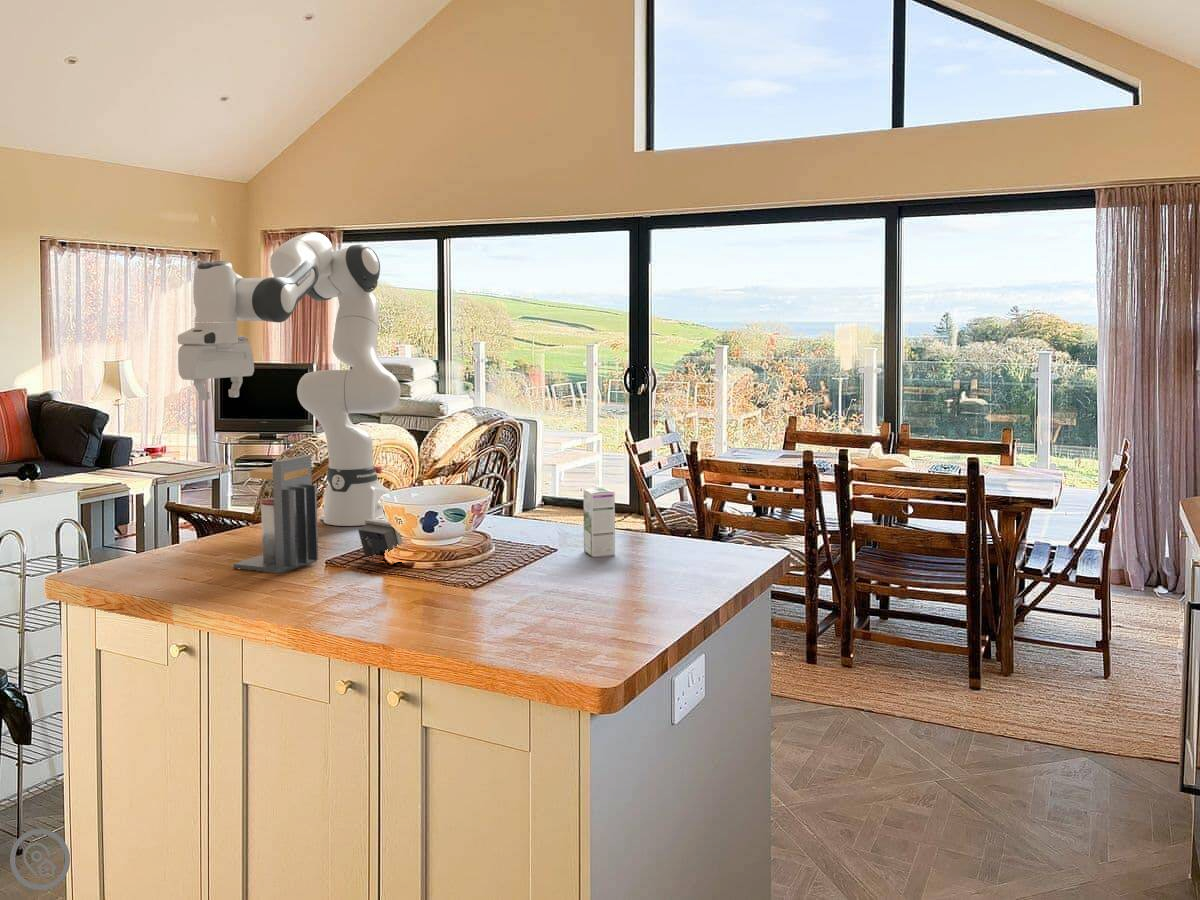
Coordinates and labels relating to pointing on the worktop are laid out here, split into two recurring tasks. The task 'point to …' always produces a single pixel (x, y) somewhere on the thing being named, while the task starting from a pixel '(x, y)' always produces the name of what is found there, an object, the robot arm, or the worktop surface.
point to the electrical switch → (378, 537)
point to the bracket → (290, 516)
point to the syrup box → (599, 522)
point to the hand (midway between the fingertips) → (219, 398)
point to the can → (268, 530)
